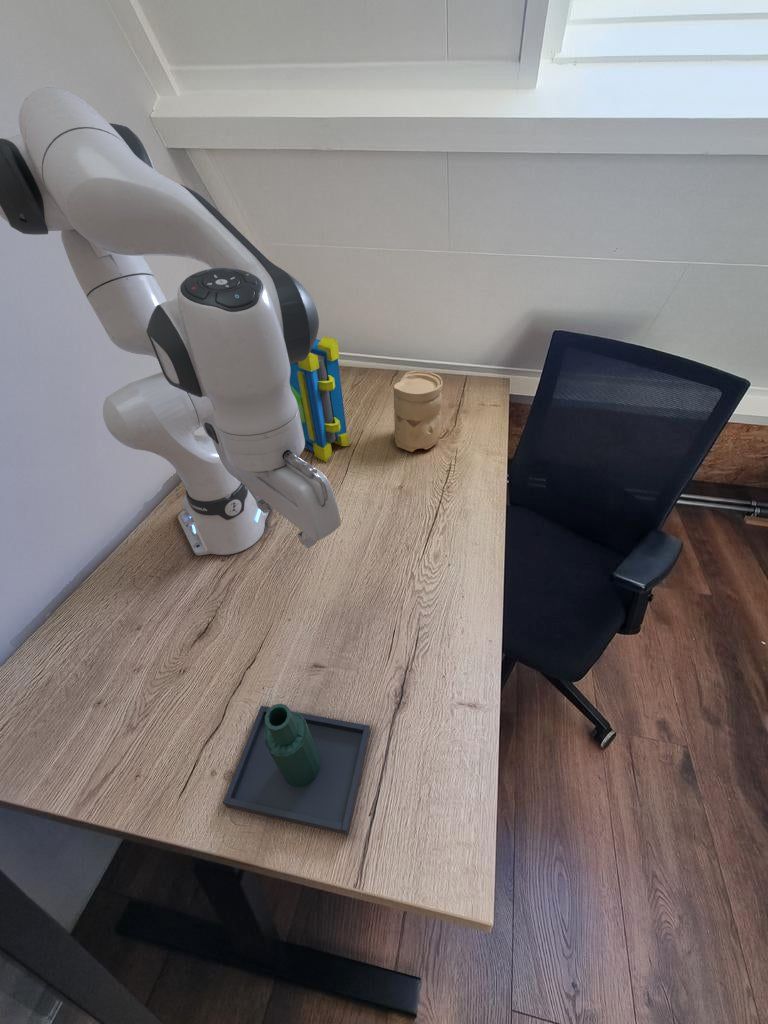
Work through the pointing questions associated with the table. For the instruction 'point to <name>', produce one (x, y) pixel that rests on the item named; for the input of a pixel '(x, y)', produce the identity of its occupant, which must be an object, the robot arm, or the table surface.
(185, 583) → the table surface
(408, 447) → the container
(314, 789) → the tray
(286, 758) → the flask
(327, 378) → the decorative book
